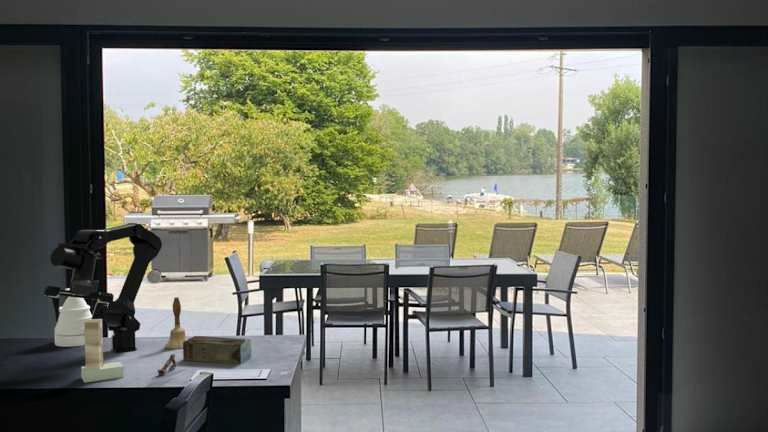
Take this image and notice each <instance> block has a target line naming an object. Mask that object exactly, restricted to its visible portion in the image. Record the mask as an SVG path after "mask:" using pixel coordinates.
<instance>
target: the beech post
mask: <svg viewBox="0 0 768 432" xmlns="http://www.w3.org/2000/svg"><path fill="white" fill-rule="evenodd" d="M84 326H85V345H84V353H85V354H84V356H85V357H84V359H85V366H86V370H90V369H100V368H101V367H102V366H103V364H104V343H103V341H104V340H103V339H104V338H103V318H95V319H88V320H87V321H85V322H84Z"/></svg>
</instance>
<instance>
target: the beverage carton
mask: <svg viewBox="0 0 768 432" xmlns="http://www.w3.org/2000/svg"><path fill="white" fill-rule="evenodd" d="M182 355H183V361H186V362H187V361H188V362H202V363H203V362H204V363H216V364H217V363H221V364H234V365H235V364H237V365H238V364H239V365H241V364H243V363H245V362H246V361H249V359H251V358H252V340H251V339H249V338H235V337H234V338H233V337H219V336H218V337H217V336H208V335H207V336H204V335H194V336H192V337H189V338H187V340H186V341H184V342H183V348H182Z"/></svg>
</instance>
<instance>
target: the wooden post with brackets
mask: <svg viewBox="0 0 768 432" xmlns="http://www.w3.org/2000/svg"><path fill="white" fill-rule="evenodd" d="M175 358H176V354H175V353H171V354H170V356H169V357H168V360H166V362H165V363H164V366H163V367H161V369H157V373H158V376H161V375H162V376H166V373H165V372H166V371H167V369H168V371H169V372H173V371H174V369H175V368H177V367H178V364H177V362H176V359H175ZM171 364H172V365H171Z"/></svg>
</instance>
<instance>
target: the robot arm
mask: <svg viewBox="0 0 768 432" xmlns="http://www.w3.org/2000/svg"><path fill="white" fill-rule="evenodd" d="M126 238H129V242H130V243H131V244H132V245H133V248H132V253H133V257H134V258H133V260H132V263H131V266H130V268H129V271H128V273H127V275H126V278H125V281H124V283H123V285H122V288H121V289H120V293H119V294H118V295H119V296H118V297H117V298H116V299H115V300H114V297H115V296H114V294H113V293H111V292H104V291H103V292H102V291H100V292H98V288H99V283H100V282H99V281H100V280H95V279H94V272H95V267H96V262H97V259H101V260H102V259H103V256H102V255H101V253H100V251H99V250H100V249H101V248H103V247H106V246H107V245H108V244H109V243H110V242H113V241H117V240H123V239H126ZM162 247H163V242H162V239H161V238H160V237H159V236H158V235H156V234H155V233H154V232H152V231H151V230H149V229H148V228H146V227H145V226H143V225H142V224H141V223H140V222H128V223H126V224H122V225H117V226H114V227H108V228H104V229H81V230H78V231H77V233H76V235H75V236H74V238H73V239H72V240H71V241H70V242H69V243H64V242H58V246H57V247H55V248H54V249H53V251H52V253H51V254H50V263H51V264H52V265H53V266H54V267H58V268H63V269H69V270H72V276H71V279H70V280H71V281H70V285H69V288H70V290H69V291H68V290H65V289H61V287H60V286H52V285H46V286H45V287H44V291H43V297H48V298H47V300H51V302H52V306H53V310H54V316H55V322H56V324H57V323H58V318H59V315H60V312H59V307H60V297H61V296H62V297H67V298H68V297H77V298H83V299H84V300H85V299H87V300H94V301H95V300H96V301H97V302H95V306H94V310H93V312H92V314H91V315H92V318H91V319H97V316H98V315H99V312H100V311H101V310H102V309H103V308H104V306H105V307H106V306H107V307H106V309H105V310H104V321H105V323H106V326H107V331H109V332H110V331H112V335H110V336H111V337H110V341H111V343H110V344H111V349H112V350H113V351H114V352H115V353H121V352H122V353H123V352H131V351H136V350H138V348H137V347H136V332H137V331H140V327H141V322H140V321H139V320H138V319H137V318H136V317H135V314H136V308H135V304H134V303H135V300H136V299H137V296H138V293H139V290H140V287H141V285H142V282H143V280H144V277H145V275H146V272H147V270H148V268H149V265H150V263H151V262H152V261H154V259H155V258H157V257H158V255H159V253H160V252H161V249H162ZM97 292H98V293H97ZM72 294H73V295H72Z"/></svg>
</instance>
